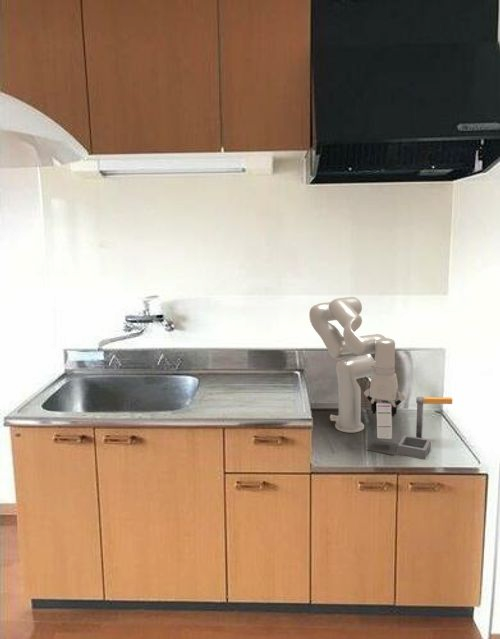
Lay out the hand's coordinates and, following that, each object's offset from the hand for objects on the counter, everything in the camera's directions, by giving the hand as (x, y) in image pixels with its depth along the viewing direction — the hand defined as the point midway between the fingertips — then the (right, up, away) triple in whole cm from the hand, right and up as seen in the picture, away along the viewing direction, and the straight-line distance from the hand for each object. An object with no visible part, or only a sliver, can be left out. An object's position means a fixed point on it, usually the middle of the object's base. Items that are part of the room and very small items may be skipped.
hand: (383, 413), depth 195 cm
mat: (+1, -14, +3) cm, 15 cm away
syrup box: (+1, -9, +2) cm, 10 cm away
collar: (+12, -14, -1) cm, 19 cm away
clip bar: (+21, +4, +3) cm, 21 cm away
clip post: (+16, -13, +7) cm, 22 cm away
